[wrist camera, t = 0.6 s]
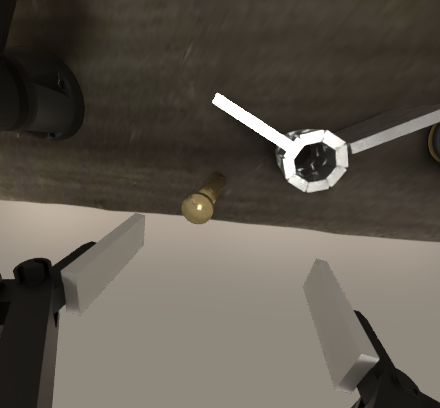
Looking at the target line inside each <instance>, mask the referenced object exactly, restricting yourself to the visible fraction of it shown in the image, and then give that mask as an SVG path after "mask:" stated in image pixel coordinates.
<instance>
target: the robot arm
mask: <svg viewBox="0 0 440 408" xmlns="http://www.w3.org/2000/svg"><path fill="white" fill-rule="evenodd" d="M16 2H17V0H0V131H14V132H18V133H22V134H26V135H29V136H33V137H37V138H41V139H46V140H58V139H66V138H68V137H70V136H72V135H73V134H74V133H75V132H76V131H77V130H78V129H79V127H80V125H81V122H82V119H83V112H84V105H83V98H82V94H81V90H80V88H79V85H78V83H77V81H76V79H75V77H74V76H73V74H72V73H71V71H70V70H69V69H68V67H67V66H66V65H65V64H64V63H63V62H62V61H60V60H59V59H58V58H56V57H55V56H53V55H51V54H49V53H47V52H44V51H41V50H38V49H35V48H31V47H5V45H6V41H7V37H8V33H9V30H10V26H11V22H12V18H13V14H14V10H15V6H16ZM144 226H145V215H141V214H137V213H135V214H134V215H133V216H131V217H130V218H129V219H128V220H126V221H125V222H124V223H122V224H121V225H120V226H119V227H117V228H116V229H115V230H113V231H112V232H111V233H109V234H108V235H107V236H105V237H104V238H103V239H102V240H100V241H99V242H98V243H96V242H92V241H91V242H89V243H86V244H84V245H82V246H80V247H79V248H78V249H76V250H75V251H73V252H72V253H71V254H70V255H69V256H67V257H65V258H64V259H62V260H61V261H59V262H58V263H57V264H55V265H54V266H52V265H51V261H50V260H48V259H46V258H34V259H30V260H27V261H24V262H22V263H20V264H19V265H18V266H16V267H15V268H14V270H13V273H14V277H15V279H2V277H1V274H0V408H52V400H53V388H54V376H55V364H56V351H57V338H58V327H59V310H60V309H61V308H62V307H63V306H64V305H65V304H66V311H67V312H69V313H72V314H76V315H79V316H81V314H82V313H83V312H84V311H85V310H86V309H87V308H88V307H89V305H90V304H91V303H92V302H93V301H94V300H95V299H96V298H97V297H98V295H99V294H100V293H101V292H102V291H103V290H104V289H105V288H106V286H107V285H108V284H109V283H110V282H111V281H112V280H113V278H114V277H115V276H116V275H117V274H118V273H119V272H120V271H121V270H122V269H123V267H124V266H125V265H126V264H127V263H128V262H129V261H130V260H131V258H132V257H133V256H134V255H135V254H136V253H137V252H138V250H139V249H140V248H141V247H142V246H143V243H144ZM303 289H304V292H305V295H306V299H307V302H308V305H309V308H310V311H311V315H312V318H313V321H314V324H315V327H316V330H317V334H318V337H319V340H320V343H321V347H322V350H323V353H324V356H325V359H326V363H327V366H328V369H329V372H330V375H331V379H332V382H333V385H334V388H335V390H339V391H342V392H346V393H349V394H351V393H352V392H353V391H354V389H355V388H356V387H357V388H358V391H359V393H360V396H361V397H360V398H359V400H358V401H357V402H356V403H355V404H354V405H353V406H352V407H351V408H440V403H439V402H438V401H436V400H434V399H432V398H430V397H429V396H427V395H425V394H423V393H422V392H420V390H419V389H418V387H417V386H416V384H415V383H414V382H413V381H412V380H411V379H410V378H409V377H408V376H407V375H406V374H405V373H403V372H402V371H400V370H399V369H396V368H395V366H394V365H393V363H392V361H391V359H390V358H389V356H388V354H387V353H386V351H385V349H384V348H383V346H382V344H381V342H380V341H379V339H377V336H376V334H375V332H374V331H373V329H372V327H371V326H370V324H369V322H368V320H367V319H366V318H365V317H364V316H363V315H362V314H361V313H360V312H359V311H355V310H353V309H352V307H351V305H350V303H349V301H348V300H347V298H346V296H345V294H344V292H343V290H342V288H341V287H340V285H339V283H338V281H337V279H336V277H335V276H334V274H333V272H332V270H331V268H330V266H329V265H328V263H327V261H323V260H319V259H316V260H315V262H314V265H313V267H312V269H311V271H310V273H309V275H308V277H307V279H306V281H305V283H304V286H303Z"/></svg>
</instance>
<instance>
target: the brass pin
mask: <svg viewBox="0 0 440 408" xmlns="http://www.w3.org/2000/svg"><path fill="white" fill-rule="evenodd" d="M224 185H225V177H224V176H223V175H222V174H220V173H215V174H213V175H212V176H211V177H210V178H209V179H208V180H207V182H206V183H205V184H204V185H203V186H202V187H201V188H200V189H199V190H198V191H197V192H195V193H192V194H190V195H189V196H187V197H186V198H185V200H184V201H183V203H182V213H183V215H184V217H185V218H186V219H187V220H188V221H190V222H191V223H194V224H203V223H206V222H207V221H208V220H209V219H210V218H211V216H212V214H213V212H214V203H215V201H216V199H217V197H218V195H219V194H220V192H221V190H222V188H223V186H224Z"/></svg>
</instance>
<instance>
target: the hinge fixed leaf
mask: <svg viewBox="0 0 440 408" xmlns="http://www.w3.org/2000/svg"><path fill="white" fill-rule="evenodd" d="M212 103H213V104H215V105H216V106H218V107H219V108H221V109H223V110H224V111H226V112H227V113H229V114H230V115H232V116H233V117H235V118H236V119H238V120H240V121H241V122H243V123H244V124H246V125H247V126H249V127H250V128H252V129H253V130H255V131H257V132H258V133H260V134H261V135H263V136H264V137H266V138H267V139H269V140H270V141H272V142H274V143H275V144H277V145H276V148H277V149H275V154H276V161H277V164H278V166H279V167H280V165H279V162H278V159H277V156H278V155H277V152H278V150H279V148H280V147H281V148H283V149H282V151H281V152H280V153H281V154H282V155H280V161H281V167H282V173H283V175H284V176H285V178H286V179H287V181H288V182H289V183H291V184H292V185H294V186H296V187H297V188H299V189H300V190H302V191H303V192H305V190H306V192H307V193H308V192H313V191H319V190H324V189H329V186H331V187H332V186H333V185H334V184H335V183H336V182H337V181H338V179H339V178H340V177H341V176H342V175H343V174H344V173H345V171H346V170H347V169H345V168H344V167H348V154H347V145H344V143H345V142H344V141H343V140H341V139H340V138H338V137H337V136H335V135H334V134H332V133H331V132H329V131H328V130H320V129H314V130H310V131H306V132H302V133H298V134H295V137H294V136H292V137H291V138H290V140H289V139H288V138H286V136H288V135H290V134H292V133H295V132H297V131H299V130H302V129H299V130H295V131H291V132H287V133H286V134H284V135H282V134H280V133H279V132H277V131H275V130H274V129H272V128H271V127H269V126H268V125H266V124H265V123H263V122H262V121H260V120H259V119H257V118H256V117H254V116H252V115H251V114H249V113H248V112H246V111H245V110H243V109H242V108H240V107H239V106H237V105H236V104H234V103H232V102H231V101H229V100H228V99H226V98H225V97H223V96H222V95H220V94H219V93H217V94H216V96H215V98H214V100H213V102H212ZM316 142H318V143H320V144H321V145H323V146H324V147H325V151H326V163H325V164H324V165H323V166H322V167H321V169H320V170H319V171H318V172H317V173H315V174H310V175H305V176H301V175H300V174H298V173H297V172H295V169H297V170H299V171H300V170H303V169H305V168H308V167H311V166H312V165H313V163H314V162H315V160H316V158H317V156H318V151H317V148H316V144H315V143H316ZM307 144H310V148H311V155H310V156H309V157H308V159H307V160H306V161H305V163H304V164H299V165H294V158H295V157H296V156H297V154H298V153H299V152H300V150H301V149H302V148H303V146H304V145H307ZM281 167H280V169H281Z"/></svg>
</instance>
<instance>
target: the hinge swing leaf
mask: <svg viewBox="0 0 440 408" xmlns="http://www.w3.org/2000/svg"><path fill="white" fill-rule="evenodd" d="M438 122H440V104H436V105H428V106H420V107H412V108H405V109H397V110H389V111H386V112H384V113H381V114H379V115H377V116H374V117H372V118H369V119H367V120H364V121H362V122H359V123H357V124H354V125H352V126H350V127H347V128H345V129H342V130H340V131H337V132H335V133H332V134H334V135H335V136H337V137H338V138H340V139H341V140H343V141H344V142H345V143H344V145H347V153H351V154H354V153H357V152H360V151H362V150H365V149H368V148H370V147H373V146H376V145H378V144H381V143H384V142H387V141H389V140H392V139H395V138H397V137H400V136H403V135H405V134H408V133H411V132H413V131H416V130H419V129H422V128H424V127H427V126H430V125H432V124H435V123H438ZM310 130H313V129H302V130H299V131H297V132H295V133H292V134H290V135H288V136H286V138H288V139H289V140H290V138H291V137H292V136H294V137H295V134H298V133H302V132H306V131H310ZM315 144H316V148H317V151H318V156H317V158H316V160H315V162H314V163H313V165H312V166H311V167H308V168H305V169H303V170H300V171H299V170H297V169H295V172H297V173H298V174H300V175H301V176H305V175H310V174H315V173H317V172H318V171H319V170H320V169H321V167H322V166H323V165H324V164H325V163H326V151H325V147H324V146H323V145H321V144H320V143H318V142H316V143H315ZM282 149H283V148H281V147H280V148H279V150H278V152H277V155H278V156H277V159H278V162H279V165H280V167H281V161H280V155H282V154H281V153H280V152H281V151H282ZM281 170H282V167H281Z"/></svg>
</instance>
